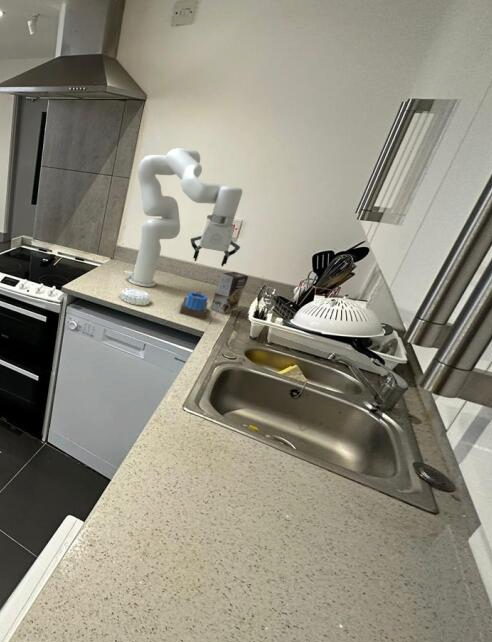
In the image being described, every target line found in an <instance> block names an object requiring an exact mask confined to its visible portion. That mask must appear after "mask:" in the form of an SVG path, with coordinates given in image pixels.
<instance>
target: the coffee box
mask: <svg viewBox="0 0 492 642" xmlns="http://www.w3.org/2000/svg"><path fill="white" fill-rule="evenodd" d="M248 279H249V275H247V274H244V273H240V272H236V271H229V272H222V273H221V276H220V279H219V281H218V283H217V287H216V290H215V293H214V295H213V298H212V301H211V304H210V306H209V308H210V309H211V310H214V311H216V312H219V313H220V314H227V313H232V312H236V311H237V309H235V310H233V309H234V308H236V307H237V308H238V306H239V303H240V300H241V298H242V294H243V292H244V290H245V287H246V284H247V281H248Z"/></svg>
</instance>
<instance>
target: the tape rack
mask: <svg viewBox="0 0 492 642" xmlns="http://www.w3.org/2000/svg"><path fill="white" fill-rule="evenodd" d="M195 293H200V294H203V293H202V291H199V290H196V291H195ZM195 297H197V298H201V297H199V296H195ZM186 299H187V296H185V297H184V298H183V302H182V303H181V307H180V310H179V314H184V315H185V316H190V317H195V318H198V319H202V320H204V319H205V317H206V313H207V310H208V304H209V303H208V301H207V302H206V305H205V308H204V310H202V311H198V310H193V309H190V308H188V307H186V306H185V303H186Z"/></svg>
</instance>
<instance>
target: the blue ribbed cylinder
mask: <svg viewBox="0 0 492 642" xmlns="http://www.w3.org/2000/svg"><path fill="white" fill-rule="evenodd" d="M195 296H199V297H201V298H197V297H195ZM186 297H187V299H186V303H185V306H186V307H188V308H190V309H193V310H198V311H202V310H204V308H205V305H206V302H208V299H209V296H207V295H205V294H203V293H201V294H200V293H196V292H195V291H194V292H193V291H192V292H188V293H187V295H186Z"/></svg>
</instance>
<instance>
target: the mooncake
mask: <svg viewBox="0 0 492 642" xmlns="http://www.w3.org/2000/svg"><path fill="white" fill-rule="evenodd" d="M120 299H121V300H122V301H124V302H126V303H127V304H131V305H136V306H147V305H148V304H150V301H151V294H149V293H148V292H146V291H145V290H143V289H142V290H141V289H138V288H133V287H131V288H130V287H128V288H123V289H122V290H121V293H120Z"/></svg>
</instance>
